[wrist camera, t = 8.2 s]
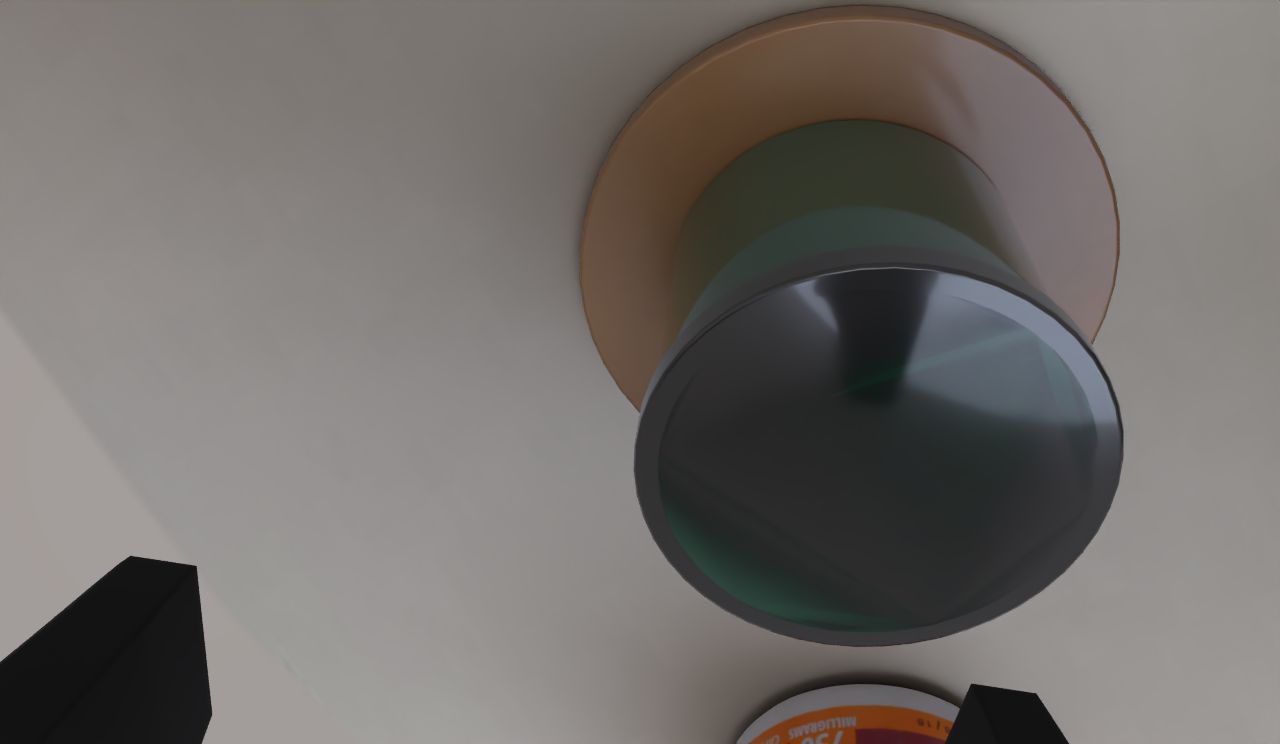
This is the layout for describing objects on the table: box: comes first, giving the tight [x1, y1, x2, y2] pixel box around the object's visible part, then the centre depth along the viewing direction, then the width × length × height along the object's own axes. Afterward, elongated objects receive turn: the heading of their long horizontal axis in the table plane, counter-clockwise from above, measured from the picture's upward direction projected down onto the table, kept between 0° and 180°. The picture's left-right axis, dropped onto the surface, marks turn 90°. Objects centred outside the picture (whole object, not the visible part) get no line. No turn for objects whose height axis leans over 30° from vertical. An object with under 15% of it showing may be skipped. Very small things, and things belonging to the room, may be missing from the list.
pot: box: [634, 120, 1124, 647], centre depth 16 cm, size 6×6×5 cm
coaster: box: [580, 5, 1120, 413], centre depth 18 cm, size 8×8×1 cm
